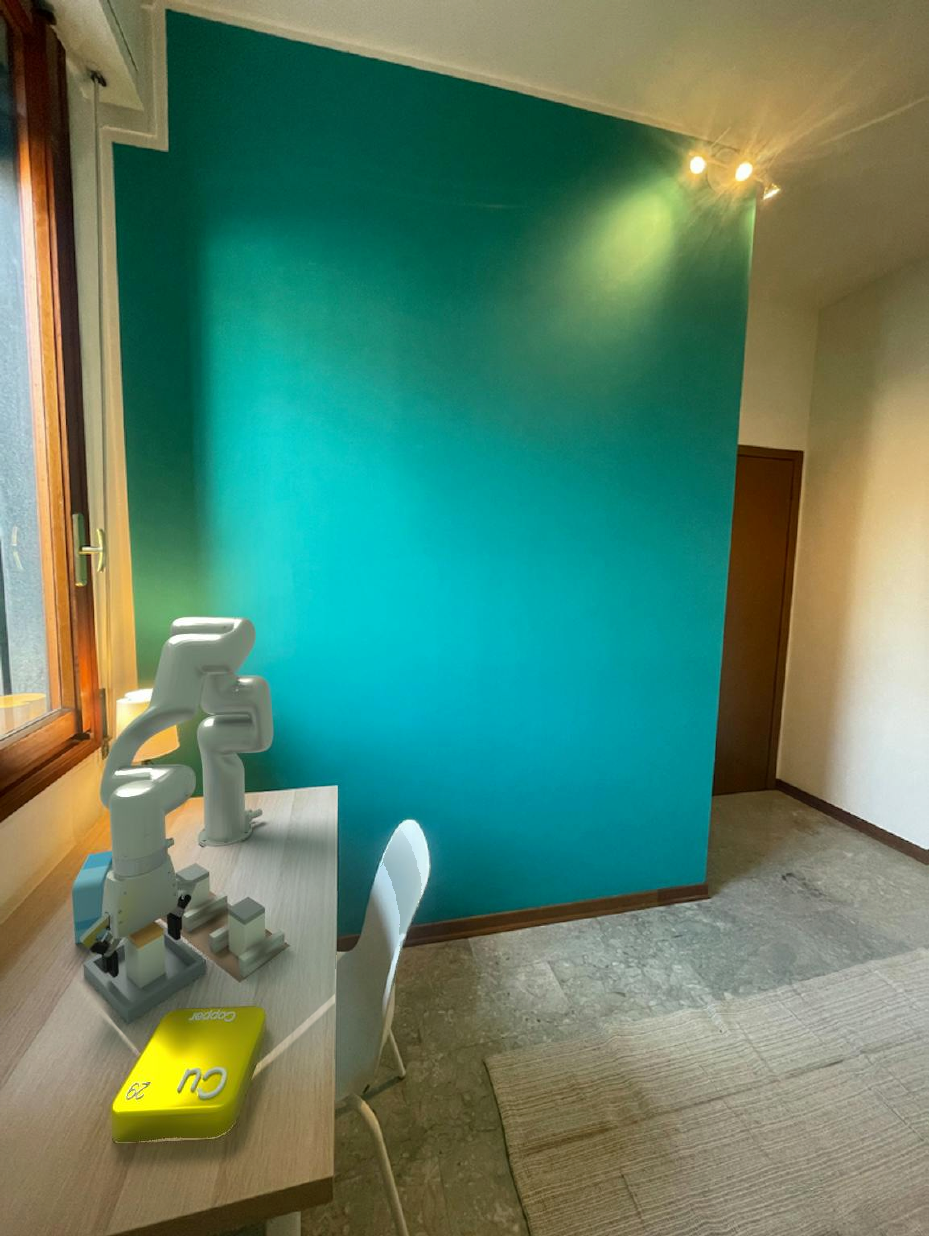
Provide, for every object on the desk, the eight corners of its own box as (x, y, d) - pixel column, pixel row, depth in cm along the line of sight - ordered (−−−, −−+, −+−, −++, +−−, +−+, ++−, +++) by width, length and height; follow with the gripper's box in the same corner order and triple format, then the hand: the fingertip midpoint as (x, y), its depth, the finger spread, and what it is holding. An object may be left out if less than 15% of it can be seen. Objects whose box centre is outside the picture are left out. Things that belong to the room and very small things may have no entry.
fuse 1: (196, 899, 104) (195, 863, 103) (210, 909, 101) (209, 871, 100) (177, 910, 101) (175, 872, 100) (190, 920, 98) (189, 882, 97)
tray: (159, 936, 95) (158, 921, 94) (206, 976, 86) (206, 960, 86) (84, 979, 85) (83, 963, 84) (128, 1029, 76) (127, 1011, 76)
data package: (105, 942, 93) (101, 881, 92) (75, 949, 91) (71, 886, 90) (119, 901, 104) (116, 846, 103) (93, 907, 102) (89, 851, 101)
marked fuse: (151, 959, 88) (149, 916, 87) (165, 972, 85) (163, 928, 85) (125, 974, 85) (123, 930, 84) (140, 988, 82) (137, 943, 81)
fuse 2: (249, 936, 94) (248, 896, 93) (265, 948, 91) (264, 907, 90) (229, 950, 91) (227, 908, 90) (245, 962, 88) (244, 920, 87)
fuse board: (203, 890, 108) (202, 873, 108) (290, 949, 92) (289, 930, 92) (153, 916, 100) (153, 898, 99) (239, 986, 84) (239, 965, 84)
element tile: (269, 1030, 77) (269, 1001, 76) (230, 1142, 62) (229, 1107, 61) (168, 1033, 76) (166, 1004, 75) (103, 1148, 61) (101, 1113, 60)
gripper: (181, 828, 92) (184, 916, 94) (67, 876, 78) (74, 977, 80) (204, 842, 88) (207, 932, 90) (88, 894, 74) (94, 1001, 76)
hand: (144, 954), depth 85 cm, fingers open, 9 cm apart
